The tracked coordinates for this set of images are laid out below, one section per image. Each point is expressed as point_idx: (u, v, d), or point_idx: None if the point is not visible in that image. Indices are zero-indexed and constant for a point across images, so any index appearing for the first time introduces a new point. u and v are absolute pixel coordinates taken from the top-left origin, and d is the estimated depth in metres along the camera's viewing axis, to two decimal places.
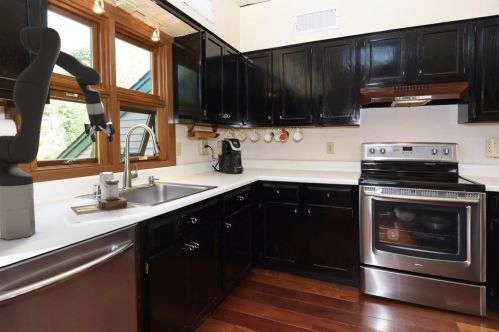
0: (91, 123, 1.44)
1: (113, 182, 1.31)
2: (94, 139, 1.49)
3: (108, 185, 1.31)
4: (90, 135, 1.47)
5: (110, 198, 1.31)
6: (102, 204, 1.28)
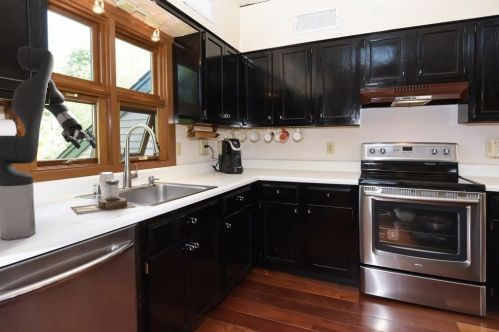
0: (71, 129, 1.33)
1: (113, 182, 1.31)
2: None
3: (108, 185, 1.31)
4: (74, 139, 1.30)
5: (110, 198, 1.31)
6: (102, 204, 1.28)
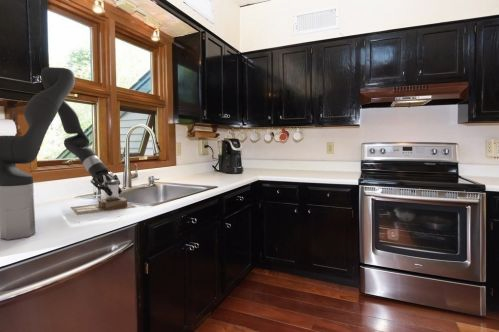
0: (97, 175, 1.32)
1: (113, 182, 1.31)
2: None
3: (108, 185, 1.31)
4: (106, 186, 1.30)
5: (110, 198, 1.31)
6: (102, 204, 1.28)
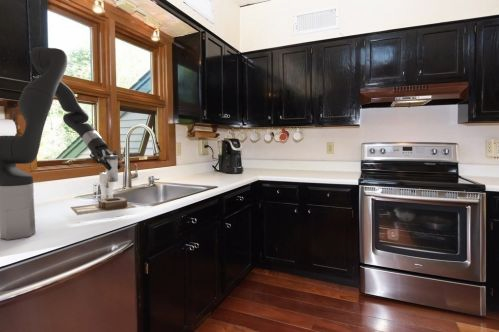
0: (97, 149, 1.31)
1: (112, 156, 1.30)
2: None
3: (107, 159, 1.30)
4: (105, 161, 1.29)
5: (109, 173, 1.30)
6: (102, 204, 1.28)
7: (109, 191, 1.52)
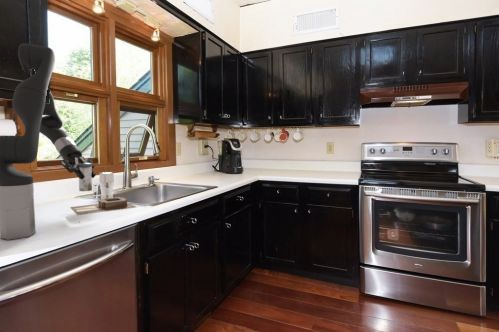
0: (69, 157, 1.24)
1: (85, 165, 1.23)
2: None
3: (80, 168, 1.23)
4: (78, 169, 1.22)
5: (82, 182, 1.24)
6: (102, 204, 1.28)
7: (109, 191, 1.52)
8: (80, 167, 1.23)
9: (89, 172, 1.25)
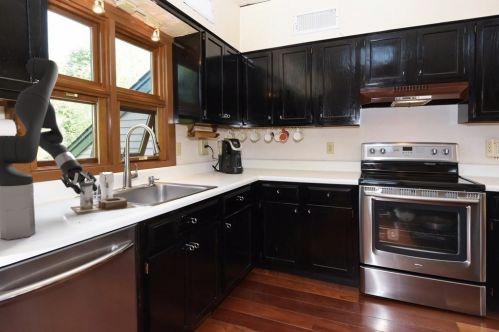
0: (70, 173, 1.25)
1: (86, 183, 1.24)
2: None
3: (81, 187, 1.24)
4: (75, 184, 1.22)
5: (83, 201, 1.24)
6: (102, 204, 1.28)
7: (109, 191, 1.52)
8: (81, 186, 1.24)
9: (90, 191, 1.26)
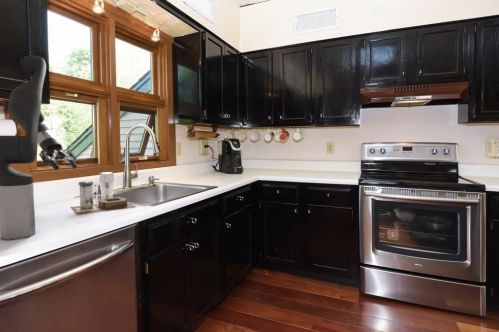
0: (49, 150, 1.28)
1: (86, 183, 1.24)
2: None
3: (81, 187, 1.24)
4: (53, 160, 1.25)
5: (83, 201, 1.24)
6: (102, 204, 1.28)
7: (109, 191, 1.52)
8: (81, 186, 1.24)
9: (90, 191, 1.26)
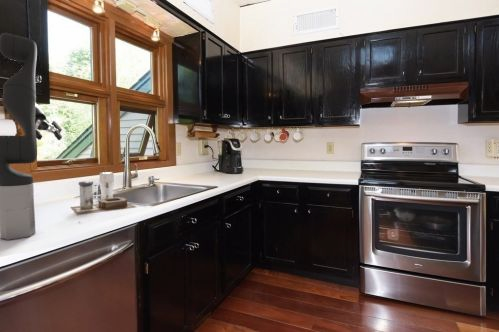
0: None
1: (86, 183, 1.24)
2: None
3: (81, 187, 1.24)
4: None
5: (83, 201, 1.24)
6: (102, 204, 1.28)
7: (109, 191, 1.52)
8: (81, 186, 1.24)
9: (90, 191, 1.26)
